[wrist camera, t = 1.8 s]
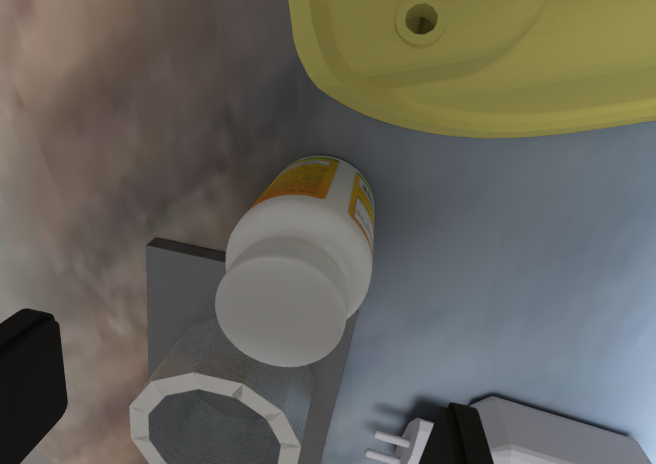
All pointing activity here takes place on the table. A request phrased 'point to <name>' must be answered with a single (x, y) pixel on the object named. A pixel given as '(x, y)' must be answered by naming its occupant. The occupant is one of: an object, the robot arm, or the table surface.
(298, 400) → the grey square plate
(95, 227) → the table surface
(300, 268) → the supplement bottle
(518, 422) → the charger
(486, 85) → the plastic component
